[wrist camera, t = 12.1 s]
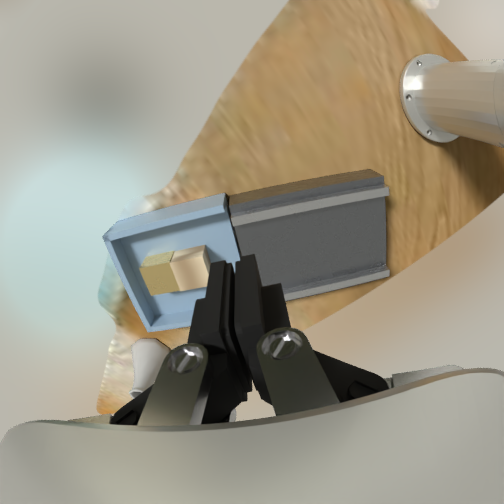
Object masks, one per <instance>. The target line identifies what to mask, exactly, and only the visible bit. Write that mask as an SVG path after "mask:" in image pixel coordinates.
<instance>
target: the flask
mask: <svg viewBox="0 0 504 504" xmlns="http://www.w3.org/2000/svg"><path fill="white" fill-rule="evenodd" d="M131 351H132V359H133V368H134V384H133V388H132V390H130V391H129V394H130V396H131V397H132V398H133V399H134V398H135V397H137V396H138V395H139V394H141V393H142V392H143V391H145V390H146V389H147V388H149V387H150V386H151V385H153V384H154V382H155V380H156V377H157V375H158V372H159V370H160V368H161V365H162V363H163V360H164V359H165V357H166V355H167V354H168V353H169V352H170V351H169V348H168V347H166V346H165V345H163V344H162V343H161V342H159V341H158V340H156V339H139V340H137V341H136V342H135V343H134V344H133V345H131Z"/></svg>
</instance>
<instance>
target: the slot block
mask: <svg viewBox="0 0 504 504" xmlns="http://www.w3.org/2000/svg"><path fill="white" fill-rule="evenodd" d="M388 195H389V187H388V186H386V185H385V184H384V176H382V175H381V174H379V173H377V172H375V171H373V170H371V169H367V170H360V171H354V172H348V173H342V174H336V175H330V176H324V177H319V178H313V179H308V180H303V181H297V182H292V183H287V184H282V185H277V186H272V187H267V188H263V189H258V190H253V191H249V192H244V193H240V194H235V195H231V196H230V200H229V208H230V212H231V221H232V225H233V226H234V227H235V231H236V235H237V239H238V243H239V247H240V250H241V254H242V256H246V255H251V254H255V257H256V261H257V265H258V269H259V274H260V278H261V282H262V286H268V285H272V284H277V283H281V285H282V289H283V294H284V298H285V301H289V300H294V299H298V298H303V297H308V296H312V295H317V294H321V293H325V292H330V291H334V290H338V289H342V288H346V287H351V286H355V285H359V284H363V283H367V282H371V281H375V280H378V279H382V278H386V277H388V276H389V274H390V269H389V268H388V267H387V266H386V209H385V196H388Z"/></svg>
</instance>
